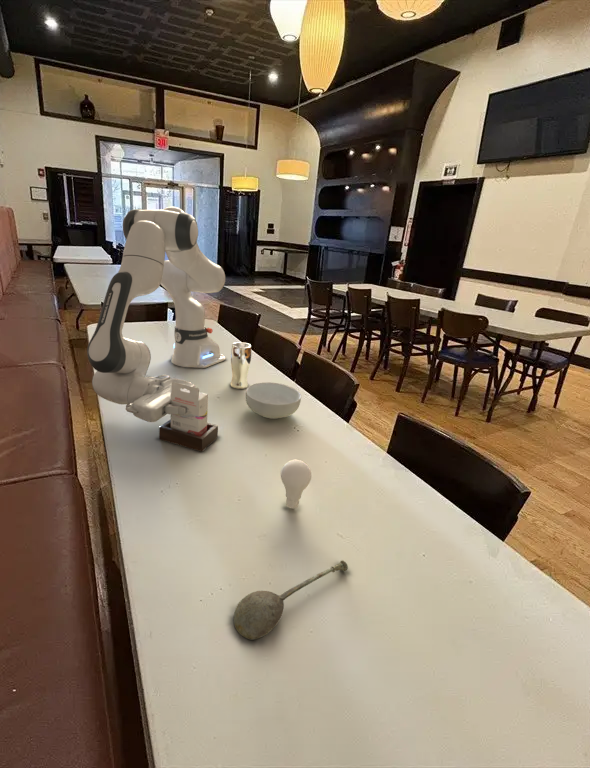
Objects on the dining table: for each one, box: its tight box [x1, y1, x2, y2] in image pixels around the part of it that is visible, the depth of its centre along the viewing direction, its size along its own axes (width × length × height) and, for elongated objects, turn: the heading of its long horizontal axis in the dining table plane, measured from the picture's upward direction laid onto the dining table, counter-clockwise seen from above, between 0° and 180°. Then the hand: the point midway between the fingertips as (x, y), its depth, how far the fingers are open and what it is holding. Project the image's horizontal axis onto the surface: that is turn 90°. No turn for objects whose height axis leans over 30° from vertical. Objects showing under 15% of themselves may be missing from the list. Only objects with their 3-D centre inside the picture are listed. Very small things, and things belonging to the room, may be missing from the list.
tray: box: [158, 418, 219, 453], centre depth 108 cm, size 9×13×4 cm
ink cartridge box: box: [170, 382, 209, 437], centre depth 106 cm, size 9×5×15 cm, turn 67°
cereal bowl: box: [245, 381, 302, 420], centre depth 126 cm, size 17×17×7 cm
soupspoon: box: [233, 560, 349, 640], centre depth 65 cm, size 22×3×7 cm
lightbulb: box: [280, 459, 312, 510], centre depth 84 cm, size 6×6×11 cm
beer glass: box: [230, 341, 252, 390], centre depth 143 cm, size 7×7×15 cm
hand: (192, 406), depth 105 cm, fingers closed on ink cartridge box, 5 cm apart
